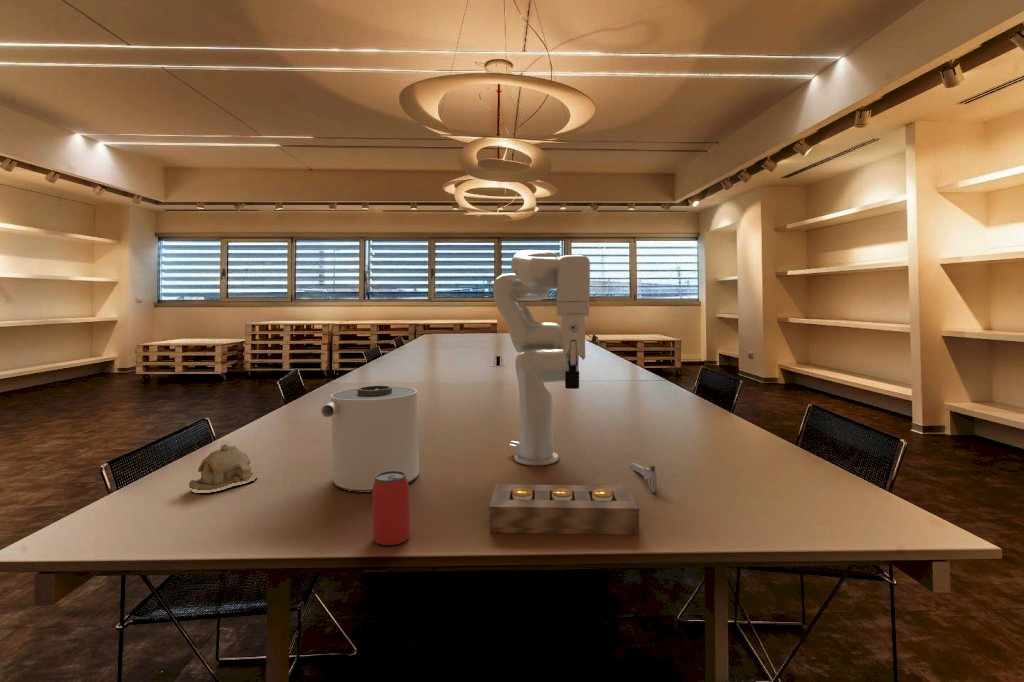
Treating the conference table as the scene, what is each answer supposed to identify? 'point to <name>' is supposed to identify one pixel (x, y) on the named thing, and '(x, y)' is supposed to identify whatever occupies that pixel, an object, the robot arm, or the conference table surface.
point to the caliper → (647, 475)
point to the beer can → (391, 508)
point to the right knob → (601, 495)
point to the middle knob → (562, 494)
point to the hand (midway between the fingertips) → (572, 387)
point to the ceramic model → (223, 469)
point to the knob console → (564, 511)
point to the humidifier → (373, 434)
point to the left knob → (522, 494)
